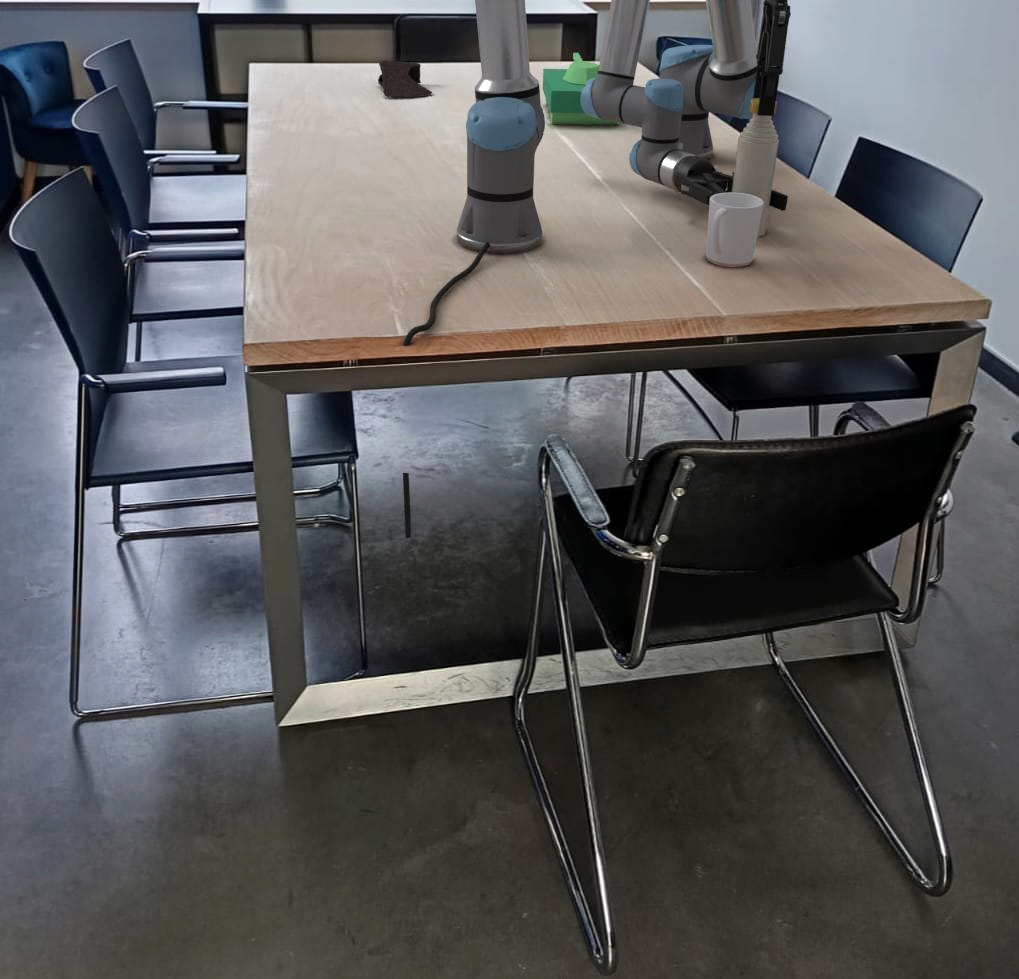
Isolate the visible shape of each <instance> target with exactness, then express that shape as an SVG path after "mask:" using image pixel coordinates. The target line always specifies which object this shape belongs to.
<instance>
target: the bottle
mask: <svg viewBox="0 0 1019 979" xmlns="http://www.w3.org/2000/svg"><path fill="white" fill-rule="evenodd" d="M773 123H774V121H773V120H772V116H760V115H757V114H754V113H753V116H752V119H749V122H747V123H746V126H745V127H743V130H741V132H740V134H739V136H738V140H737V148H736V156H735V162H734V170H733V172H734V178H733V186H732V193H744V194H749V195H753V196H756V197H759V198H760V199H762V200H763V202H764V204H763V209H762V214H761V219H760V225H759V230H758V235H757V238H759V237H761V236H764V235H765V234H766V232H767V225H768V219H769V211H770V207H771V206H770V199H771V192H772V190H773V185H774V179H775V178H774V177H775V171H776V164H777V159H778V158H777V157H778V150H779V145H780V144H779V143H780V140H779V134H778V133H777V130H776V129H775V128H776V127H775V125H774V124H773Z"/></svg>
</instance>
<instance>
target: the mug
mask: <svg viewBox="0 0 1019 979" xmlns="http://www.w3.org/2000/svg"><path fill="white" fill-rule="evenodd" d="M763 204H764V202H763V200H762V199H760V198H759V197H756V196H753V195H749V194H744V193H719V194H715V195H713V196H711V197H710V204H709V206H708V219H707V220H708V221H707V235H706V248H705V249H706V250H705V258H706V260H707V261H708V262H710V263H711V264H714V265H717V266H721V267H728V268H739V267H740V268H742V267H746V266H749V265H751V264H752V263H753V260H754V256H755V250H756V245H757V240H758V237H757V235H758V230H759V225H760V219H761V214H762V209H763Z"/></svg>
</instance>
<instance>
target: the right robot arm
mask: <svg viewBox="0 0 1019 979" xmlns="http://www.w3.org/2000/svg"><path fill="white" fill-rule="evenodd" d="M650 3H651V0H610V6H609V10H608V16H607V22H606V27H605V31H604V32H605V33H604V38H603V43H602V49H601V53H600V54H601V55H600V60H599V64H598V65H599V70H598V74H597V78H592V79H590V80H588V81H587V82H586V84H585V88H584V89H582V92H581V106H582V109H583V111H584V112H585V113H586V114H587V115H589V116H592V117H596V118H599V119H601V120H609V121H614V122H618V124H624V125H629V126H633V127H637V128H641V139H639V140H638V141H636V142H635V143H634V144H633V145H632V148H631V151H630V152H629V155H628V156H629V157H628V162H629V165H630V166H629V167H630V168H631V170H632V171H633V172H634V173H635V174H637V175H638V176H640V177H641V178H643V179H645V180H647V181H650V182H653V183H656V184H658V185H661V186H664V187H665V188H668V189H670V190H673V191H674V193H675V194H679V193H680V194H681V195H684V196H687V197H689V198H691V199H693V200H695V201H698V202H700V203H701V204H703V205H705V206H707V207H709V204H710V197H711V196H713V195H715V194H719V193H732V186H733V178H734V171H733V172H731V174H727V173H724V172H722V171H718V170H717V169H716V168H715V166H714V164H713V163H712V162H711V161H710V160H709V159H711V158H712V157H713V154H714V144H713V140H712V139H713V138H712V133H711V129H710V124H709V115H710V113H712V114H719V115H721V116H728V117H733V118H736V119H740V120H744V119H746V120H750V119H752V116H753V113H751V112H750V111H749V109H750V103H751V100H752V99H753V94H754V86H755V79H756V71H757V67H760V66H758V65H757V59H756V55H757V50H758V44H759V41H756V32H755V25H754V19H753V18H754V17H753V10H752V1H751V0H705V5H706V12H707V17H708V24H709V30H710V36H711V43H712V44H691V45H680V46H674V47H670V48H667V49H665V50H664V51H663V53H662V55H661V60H660V67H659V70H658V72H659V77H658V78H653V79H649V80H647V81H646V83H645V86H641V85H635V84H634V83H635V79H636V78H635V77H636V72H637V67H638V63H639V62H638V61H639V58H640V53H641V48H642V42H643V37H644V34H645V33H644V32H645V28H646V22H647V17H648V13H649V8H650ZM772 67H776V66H772ZM779 83H780V81H779V82H778V85H779ZM788 198H789V195H787V194H785V193H783V192H780V191H777V190H774V189H772V192H771V199H770V206H769V207H772V208H774V209H777V210H779V211H782V212H784V211H786V210H787V205H788Z"/></svg>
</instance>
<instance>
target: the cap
mask: <svg viewBox="0 0 1019 979" xmlns="http://www.w3.org/2000/svg"><path fill="white" fill-rule="evenodd" d="M758 106H759V98H755V99H752V100H751V103H750V109H749V111H750V112H751V113H754V114H757V113H758ZM777 106H778V101H777V100H776V103H775V110H774V115H775V114H776V112H777Z"/></svg>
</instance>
